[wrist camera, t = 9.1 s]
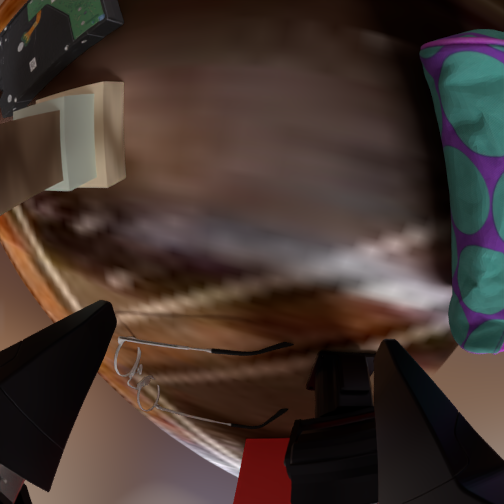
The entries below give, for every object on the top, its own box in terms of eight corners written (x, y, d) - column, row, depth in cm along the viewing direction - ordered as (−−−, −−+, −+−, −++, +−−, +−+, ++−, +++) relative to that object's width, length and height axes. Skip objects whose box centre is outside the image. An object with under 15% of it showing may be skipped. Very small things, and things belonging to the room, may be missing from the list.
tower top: (96, 177, 17) (70, 191, 14) (45, 177, 17) (20, 189, 15) (94, 93, 14) (64, 96, 11) (40, 106, 14) (13, 112, 12)
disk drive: (23, 115, 18) (129, 23, 14) (3, 121, 15) (108, 16, 11) (9, 44, 13) (107, -49, 9) (-10, 45, 11) (89, -57, 7)
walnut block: (63, 180, 14) (-8, 220, 9) (25, 179, 14) (-37, 214, 9) (59, 110, 12) (-21, 130, 7) (20, 119, 12) (-48, 141, 7)
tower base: (129, 176, 20) (107, 187, 17) (64, 176, 20) (42, 187, 18) (127, 82, 16) (103, 81, 13) (60, 97, 17) (36, 100, 14)
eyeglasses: (118, 313, 28) (97, 345, 23) (294, 330, 25) (292, 373, 21) (158, 393, 35) (146, 421, 31) (287, 411, 33) (285, 443, 28)
